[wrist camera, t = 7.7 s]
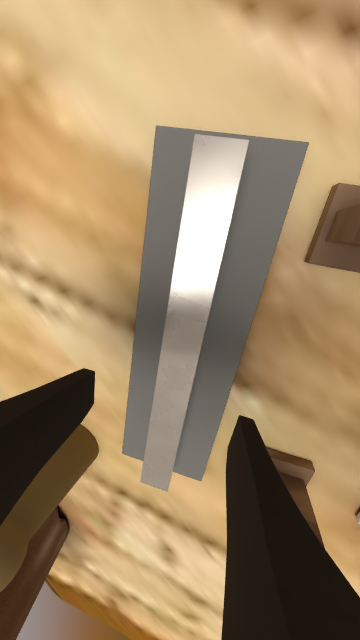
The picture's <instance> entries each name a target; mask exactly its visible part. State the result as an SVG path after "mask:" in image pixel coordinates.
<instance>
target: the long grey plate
mask: <svg viewBox="0 0 360 640" xmlns="http://www.w3.org/2000/svg"><path fill="white" fill-rule="evenodd" d="M195 134H200V135H209V136H218V137H227V138H236V139H245V140H249V144H248V150H247V156H246V161H245V165H244V170H243V174H242V178H241V182H240V187H239V191H238V195H237V199H236V204H235V208H234V212H233V217H232V221H231V225H230V229H229V234H228V238H227V242H226V246H225V251H224V255H223V259H222V264H221V268H220V272H219V276H218V281H217V285H216V289H215V293H214V298H213V302H212V306H211V310H210V315H209V319H208V323H207V328H206V332H205V336H204V340H203V345H202V349H201V353H200V357H199V362H198V366H197V370H196V374H195V379H194V383H193V387H192V392H191V396H190V400H189V404H188V409H187V413H186V417H185V421H184V426H183V430H182V434H181V439H180V443H179V447H178V451H177V456H176V460H175V464H174V468H173V472H176V473H179V474H181V475H184V476H187V477H190V478H193V479H196V480H199V481H202V478H203V475H204V472H205V469H206V465H207V462H208V459H209V456H210V453H211V450H212V447H213V443H214V440H215V437H216V434H217V431H218V428H219V425H220V421H221V418H222V415H223V412H224V409H225V406H226V402H227V399H228V396H229V393H230V390H231V387H232V384H233V380H234V377H235V374H236V371H237V368H238V365H239V362H240V358H241V355H242V352H243V349H244V346H245V343H246V340H247V336H248V333H249V330H250V327H251V324H252V321H253V318H254V314H255V311H256V308H257V305H258V302H259V299H260V296H261V292H262V289H263V286H264V283H265V280H266V277H267V273H268V270H269V267H270V264H271V261H272V258H273V255H274V251H275V248H276V245H277V242H278V239H279V236H280V233H281V229H282V226H283V223H284V220H285V217H286V214H287V211H288V207H289V204H290V201H291V198H292V195H293V192H294V189H295V185H296V182H297V179H298V176H299V173H300V170H301V167H302V163H303V160H304V157H305V154H306V151H307V148H308V145H309V142H301V141H292V140H283V139H274V138H265V137H256V136H247V135H238V134H228V133H219V132H210V131H201V130H192V129H183V128H174V127H165V126H156V131H155V140H154V150H153V160H152V170H151V179H150V189H149V199H148V208H147V218H146V228H145V237H144V247H143V257H142V266H141V276H140V286H139V295H138V305H137V315H136V324H135V334H134V344H133V353H132V363H131V373H130V382H129V392H128V402H127V411H126V421H125V431H124V441H123V450H122V454H125V455H127V456H130V457H133V458H136V459H139V460H142V461H144V456H145V449H146V443H147V437H148V430H149V424H150V417H151V411H152V405H153V398H154V392H155V385H156V379H157V373H158V366H159V360H160V353H161V347H162V341H163V334H164V328H165V321H166V315H167V309H168V302H169V296H170V289H171V283H172V276H173V270H174V264H175V257H176V251H177V244H178V238H179V232H180V225H181V219H182V212H183V206H184V200H185V193H186V187H187V180H188V174H189V168H190V161H191V155H192V148H193V142H194V136H195Z"/></svg>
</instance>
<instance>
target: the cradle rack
mask: <svg viewBox="0 0 360 640" xmlns="http://www.w3.org/2000/svg"><path fill="white" fill-rule="evenodd" d="M305 262H306V263H311V264H316V265H322V266H327V267H332V268H338V269H343V270H348V271H354V272H359V273H360V186H357V185H350V184H342V183H338V184H337V185H335V186H333V187H332V189H331V192H330V195H329V197H328V200H327V203H326V205H325V208H324V211H323V213H322V216H321V219H320V221H319V224H318V227H317V229H316V232H315V235H314V237H313V240H312V243H311V245H310V248H309V251H308V253H307V256H306V259H305ZM267 451H268V453H269V455H270V457H271V459H272V461H273V463H274V465H275V467H276V469H277V471H278V472H279V474H280V476H281V478H282V480H283V482H284V484H285V485H286V487H287V489H288V491H289V493H290V494H291V496H292V498H293V500H294V501H295V503H296V505H297V506H298V508H299V510H300V511H301V513H302V515H303V516H304V518H305V519H306V521H307V523H308V524H309V526H310V527H311V529H312V530H313V532H314V533H315V535H316V536H317V538H318V539H319V541H320V542H321V544H322V545H323V547H324V544H323V541H322V538H321V535H320V531H319V528H318V525H317V521H316V518H315V515H314V512H313V508H312V505H311V502H310V499H309V495H308V492H307V489H306V486H307V484H308V482H309V481H310V479H311V477H312V476H313V474H314V472H315V470H314V467H313V464H312V462H311V461H307V460H304V459H301V458H298V457H295V456H291V455H288V454H285V453H282V452H279V451H276V450H272V449H269V448H267Z"/></svg>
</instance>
